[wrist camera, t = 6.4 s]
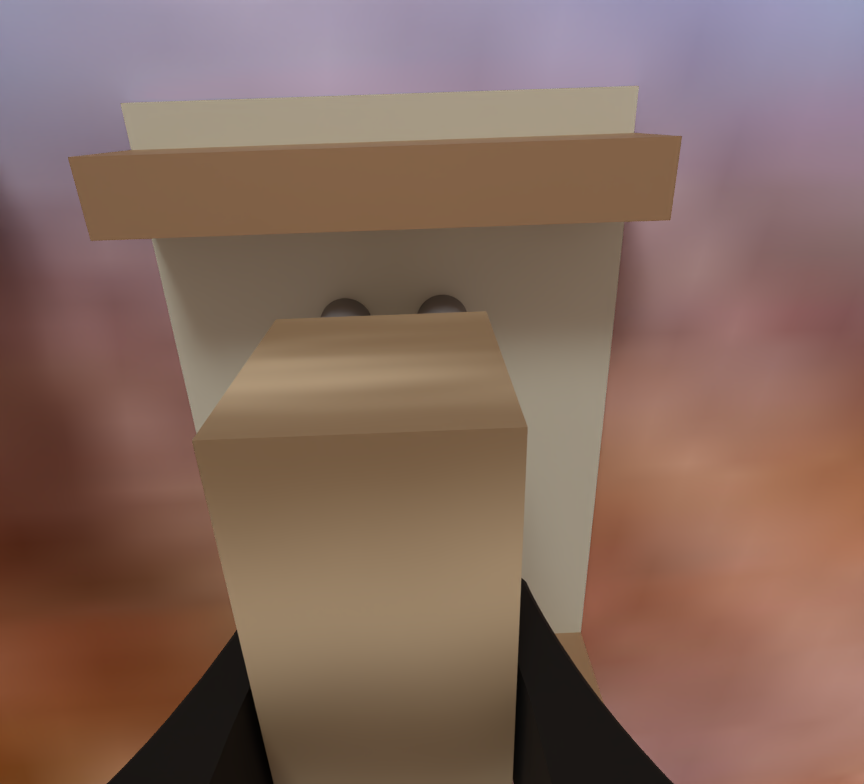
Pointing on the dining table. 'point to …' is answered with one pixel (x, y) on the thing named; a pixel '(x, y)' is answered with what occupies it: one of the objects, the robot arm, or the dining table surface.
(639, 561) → the dining table surface
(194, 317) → the peg plate
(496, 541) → the tan wooden block
